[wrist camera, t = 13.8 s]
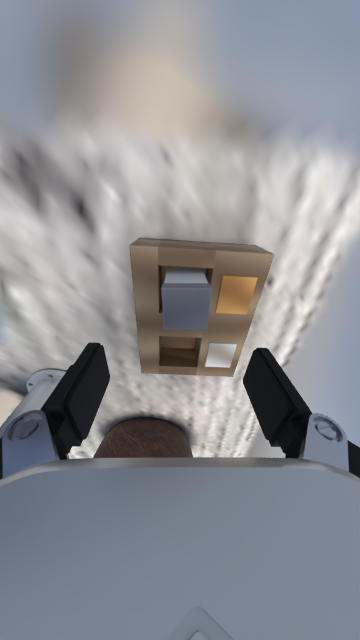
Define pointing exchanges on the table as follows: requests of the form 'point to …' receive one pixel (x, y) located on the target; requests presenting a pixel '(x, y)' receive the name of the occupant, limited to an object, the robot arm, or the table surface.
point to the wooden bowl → (144, 440)
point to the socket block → (224, 313)
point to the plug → (185, 298)
